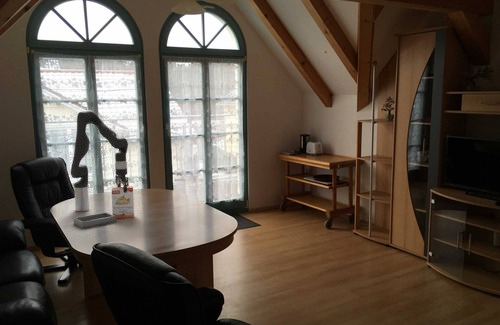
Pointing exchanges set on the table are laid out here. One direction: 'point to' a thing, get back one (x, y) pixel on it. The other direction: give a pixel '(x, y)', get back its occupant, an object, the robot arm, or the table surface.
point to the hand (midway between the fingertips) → (122, 191)
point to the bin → (94, 220)
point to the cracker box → (122, 202)
